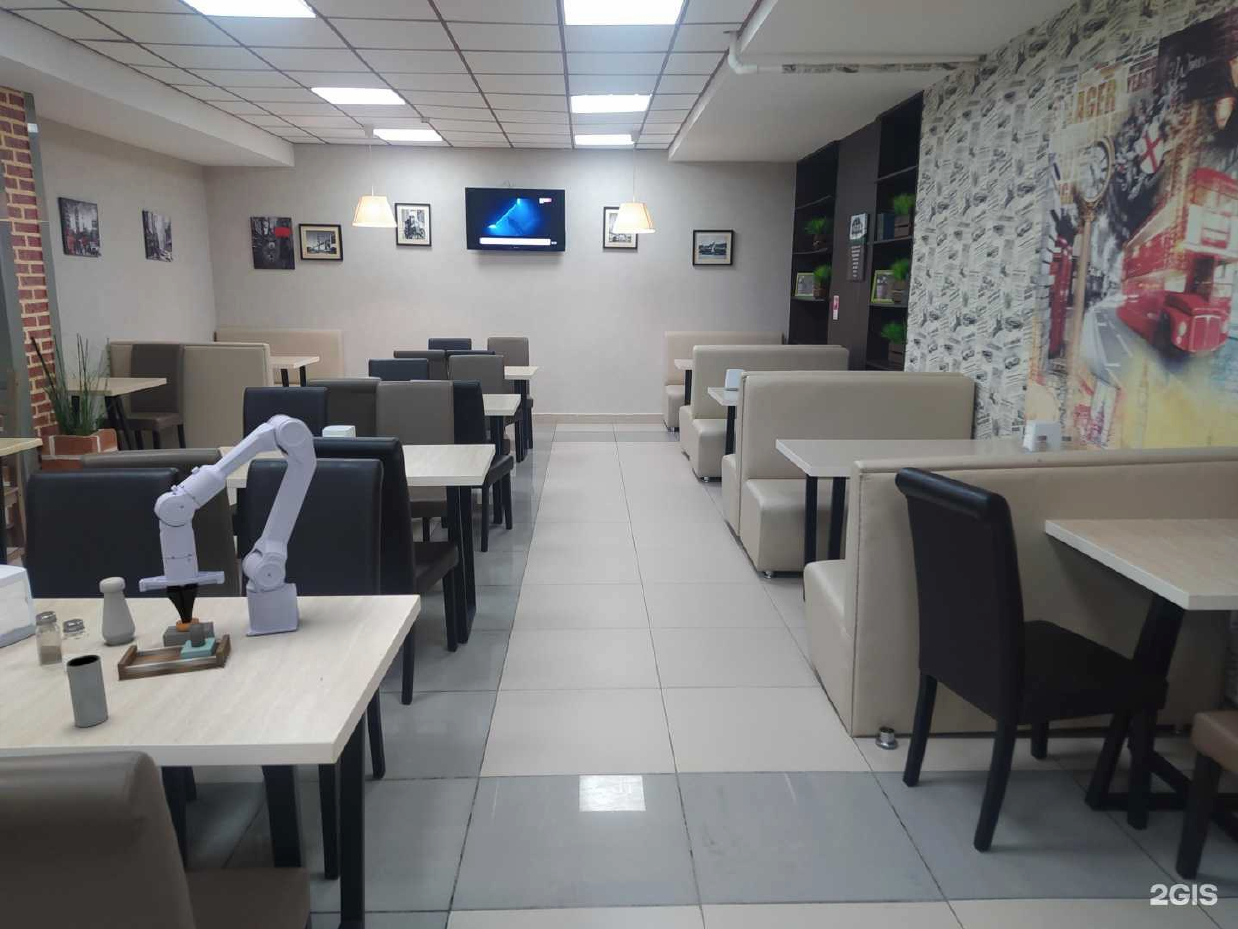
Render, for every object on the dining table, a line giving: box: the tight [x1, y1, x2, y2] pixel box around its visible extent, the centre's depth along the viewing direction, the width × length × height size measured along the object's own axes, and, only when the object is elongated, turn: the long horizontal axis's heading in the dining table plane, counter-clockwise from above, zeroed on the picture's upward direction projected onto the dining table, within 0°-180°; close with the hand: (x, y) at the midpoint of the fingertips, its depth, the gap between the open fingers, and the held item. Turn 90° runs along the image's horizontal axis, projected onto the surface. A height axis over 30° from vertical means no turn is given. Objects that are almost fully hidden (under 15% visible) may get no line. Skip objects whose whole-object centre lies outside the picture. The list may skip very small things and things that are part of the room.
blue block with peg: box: [180, 621, 217, 660], centre depth 155 cm, size 5×6×6 cm
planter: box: [65, 654, 109, 728], centre depth 132 cm, size 4×4×10 cm
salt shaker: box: [99, 576, 136, 646], centre depth 165 cm, size 6×6×13 cm
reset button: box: [175, 617, 200, 631], centre depth 163 cm, size 4×4×4 cm
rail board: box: [116, 633, 232, 681], centre depth 154 cm, size 17×9×3 cm, turn 107°
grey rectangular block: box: [162, 621, 215, 647], centre depth 163 cm, size 8×5×4 cm, turn 107°
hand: (187, 621), depth 162 cm, fingers closed, pressing on reset button
